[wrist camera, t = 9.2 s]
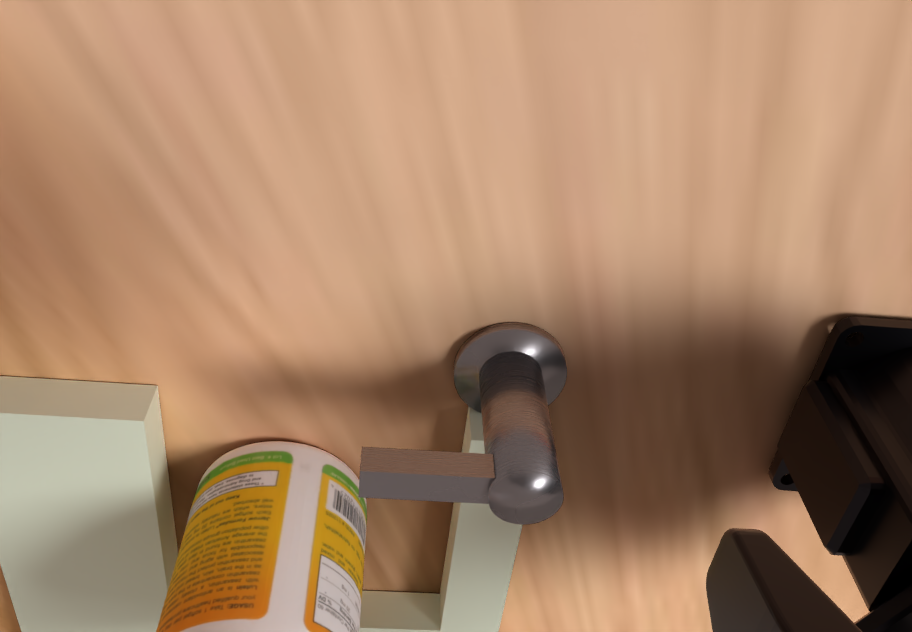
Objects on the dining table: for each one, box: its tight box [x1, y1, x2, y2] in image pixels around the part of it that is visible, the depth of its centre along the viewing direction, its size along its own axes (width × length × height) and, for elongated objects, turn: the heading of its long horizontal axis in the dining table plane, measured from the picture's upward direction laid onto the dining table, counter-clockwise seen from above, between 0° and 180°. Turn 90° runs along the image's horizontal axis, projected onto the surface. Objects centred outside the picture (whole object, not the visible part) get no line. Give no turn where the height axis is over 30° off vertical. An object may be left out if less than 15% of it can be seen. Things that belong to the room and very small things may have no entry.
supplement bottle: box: [156, 441, 367, 632], centre depth 24 cm, size 5×5×10 cm
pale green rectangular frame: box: [0, 376, 523, 632], centre depth 30 cm, size 16×18×2 cm
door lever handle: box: [358, 323, 567, 524], centre depth 23 cm, size 6×3×5 cm, turn 84°
